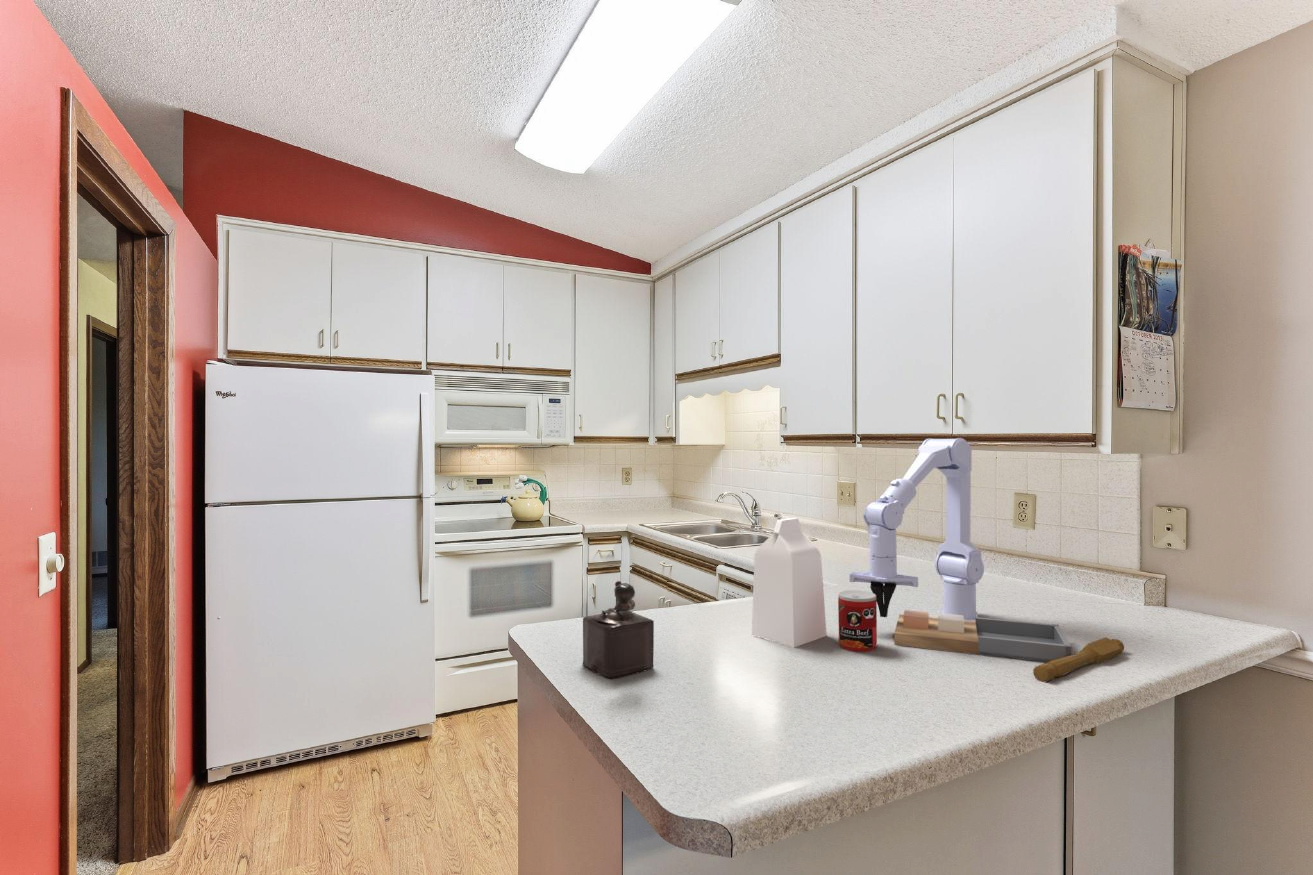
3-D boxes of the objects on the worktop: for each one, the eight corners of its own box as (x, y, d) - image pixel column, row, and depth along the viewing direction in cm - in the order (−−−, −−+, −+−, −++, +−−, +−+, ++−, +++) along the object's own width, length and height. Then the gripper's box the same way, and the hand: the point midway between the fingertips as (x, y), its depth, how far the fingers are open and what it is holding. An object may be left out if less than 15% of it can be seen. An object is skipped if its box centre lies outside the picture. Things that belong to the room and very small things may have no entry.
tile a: (904, 620, 145) (904, 609, 145) (928, 623, 143) (928, 612, 143) (903, 626, 141) (903, 615, 141) (928, 629, 139) (928, 617, 139)
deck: (899, 624, 151) (899, 614, 151) (975, 632, 144) (975, 621, 144) (894, 644, 136) (894, 632, 136) (978, 654, 130) (978, 641, 130)
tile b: (938, 624, 143) (938, 613, 143) (963, 626, 140) (963, 615, 140) (938, 630, 138) (938, 618, 138) (964, 633, 136) (964, 621, 136)
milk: (793, 647, 135) (792, 523, 136) (751, 635, 144) (750, 519, 144) (826, 635, 143) (825, 519, 143) (784, 625, 152) (783, 514, 152)
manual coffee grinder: (578, 665, 126) (577, 573, 126) (625, 654, 132) (625, 566, 132) (621, 689, 113) (620, 587, 113) (671, 675, 120) (670, 578, 120)
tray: (975, 632, 144) (975, 617, 144) (1058, 641, 138) (1058, 624, 138) (978, 654, 130) (978, 637, 130) (1071, 665, 123) (1071, 646, 123)
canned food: (835, 649, 134) (834, 596, 134) (843, 638, 141) (842, 588, 141) (873, 654, 130) (872, 600, 130) (879, 643, 137) (879, 592, 137)
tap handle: (1036, 661, 116) (1115, 634, 132) (1028, 674, 117) (1107, 645, 133) (1052, 674, 114) (1130, 644, 129) (1044, 686, 115) (1122, 656, 131)
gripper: (847, 556, 144) (848, 617, 144) (917, 560, 138) (917, 624, 138) (851, 551, 151) (852, 609, 151) (918, 555, 145) (919, 615, 145)
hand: (883, 616), depth 145 cm, fingers closed
